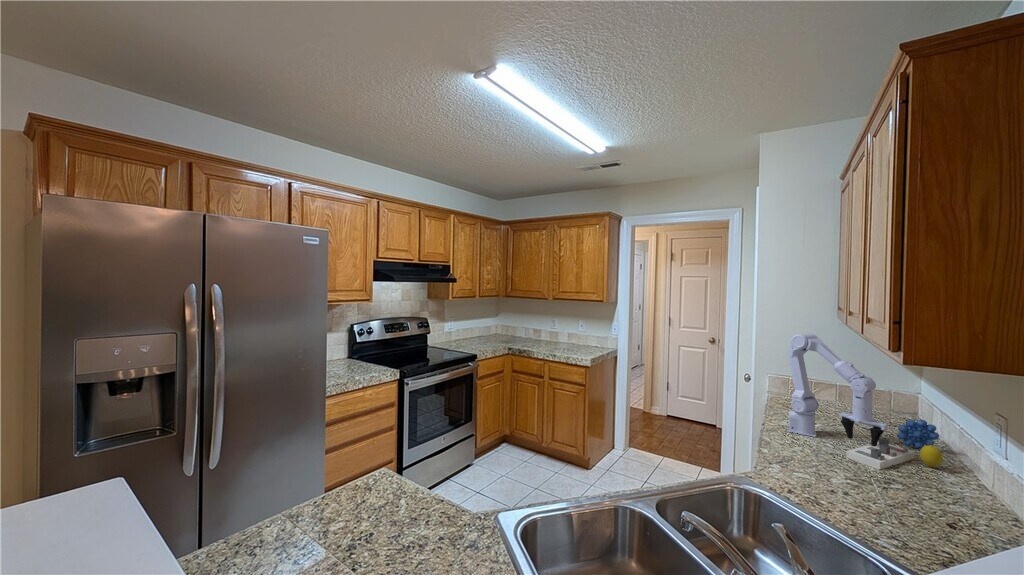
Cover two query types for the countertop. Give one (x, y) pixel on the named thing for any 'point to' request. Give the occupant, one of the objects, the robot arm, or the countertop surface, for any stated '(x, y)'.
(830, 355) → the robot arm
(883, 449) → the switch middle
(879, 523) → the countertop surface
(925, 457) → the lemon
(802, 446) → the countertop surface
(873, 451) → the switch near
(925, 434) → the grapes
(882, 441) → the switch far
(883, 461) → the switch panel
